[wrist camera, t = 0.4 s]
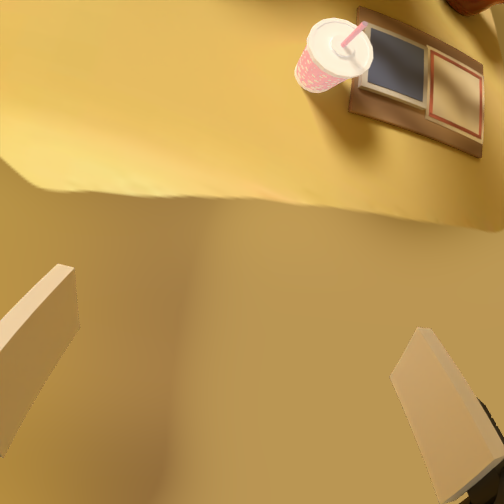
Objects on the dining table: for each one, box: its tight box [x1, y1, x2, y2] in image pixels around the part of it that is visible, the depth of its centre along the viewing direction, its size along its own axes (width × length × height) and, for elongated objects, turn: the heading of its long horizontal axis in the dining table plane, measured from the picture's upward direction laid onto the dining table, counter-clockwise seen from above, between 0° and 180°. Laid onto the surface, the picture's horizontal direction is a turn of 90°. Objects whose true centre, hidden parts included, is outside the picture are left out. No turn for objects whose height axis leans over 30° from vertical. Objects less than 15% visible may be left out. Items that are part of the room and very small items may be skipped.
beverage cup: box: [295, 18, 373, 93], centre depth 25 cm, size 6×6×14 cm
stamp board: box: [349, 6, 484, 158], centre depth 32 cm, size 15×21×2 cm
